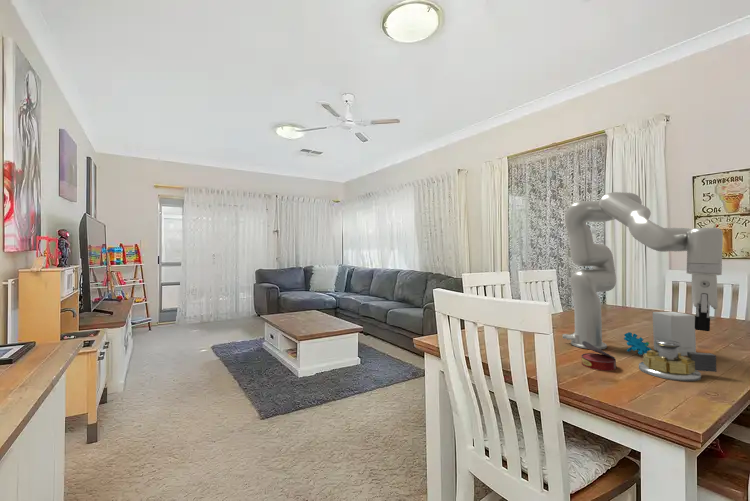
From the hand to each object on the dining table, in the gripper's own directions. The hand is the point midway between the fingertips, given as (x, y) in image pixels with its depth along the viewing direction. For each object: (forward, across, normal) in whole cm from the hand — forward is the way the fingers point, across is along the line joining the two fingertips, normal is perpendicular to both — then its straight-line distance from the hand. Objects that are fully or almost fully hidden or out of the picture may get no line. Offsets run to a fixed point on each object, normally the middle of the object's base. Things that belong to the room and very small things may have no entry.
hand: (702, 329), depth 101 cm
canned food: (+16, -4, +26) cm, 31 cm away
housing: (+15, +2, +7) cm, 17 cm away
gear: (+17, +21, +16) cm, 31 cm away
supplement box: (+16, +31, +6) cm, 35 cm away
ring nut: (+14, +3, +5) cm, 15 cm away
